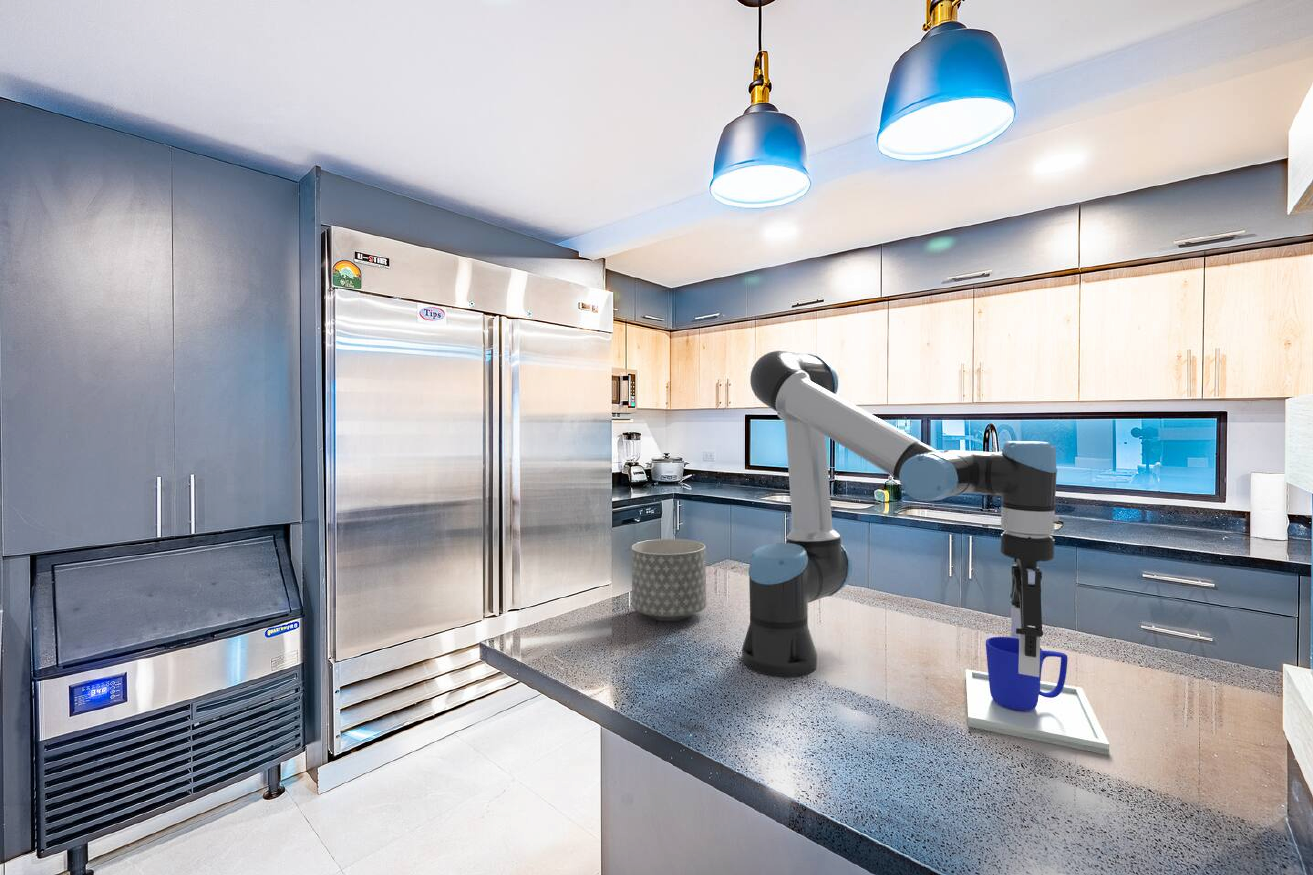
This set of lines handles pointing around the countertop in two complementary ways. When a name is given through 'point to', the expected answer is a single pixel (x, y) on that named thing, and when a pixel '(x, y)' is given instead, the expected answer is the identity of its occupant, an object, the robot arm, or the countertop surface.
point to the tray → (1037, 716)
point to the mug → (1017, 675)
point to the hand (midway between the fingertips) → (1023, 658)
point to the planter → (668, 578)
